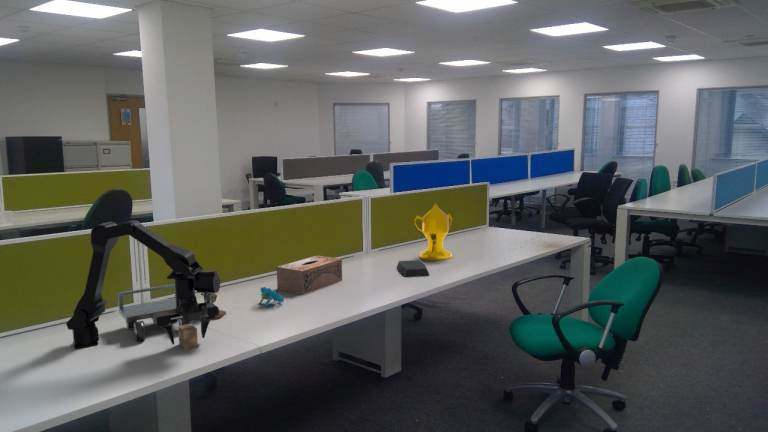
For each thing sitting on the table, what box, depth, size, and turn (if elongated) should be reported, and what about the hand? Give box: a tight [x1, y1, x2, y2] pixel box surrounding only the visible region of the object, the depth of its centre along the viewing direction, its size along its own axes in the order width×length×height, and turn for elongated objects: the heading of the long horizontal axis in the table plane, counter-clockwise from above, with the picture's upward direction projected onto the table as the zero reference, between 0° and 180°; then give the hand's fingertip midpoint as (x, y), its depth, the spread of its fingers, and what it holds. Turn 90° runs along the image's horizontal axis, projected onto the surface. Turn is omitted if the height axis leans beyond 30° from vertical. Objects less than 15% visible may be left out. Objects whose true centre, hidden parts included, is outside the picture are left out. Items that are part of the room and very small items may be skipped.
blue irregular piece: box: [259, 286, 285, 307], centre depth 217 cm, size 11×6×10 cm
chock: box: [177, 323, 199, 351], centre depth 175 cm, size 4×6×6 cm, turn 35°
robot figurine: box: [200, 293, 227, 321], centre depth 204 cm, size 11×9×12 cm
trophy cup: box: [413, 203, 453, 261], centre depth 296 cm, size 18×24×28 cm
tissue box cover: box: [276, 255, 343, 295], centre depth 245 cm, size 26×14×10 cm, turn 146°
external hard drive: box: [396, 259, 430, 278], centre depth 267 cm, size 13×19×4 cm
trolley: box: [117, 283, 192, 342], centre depth 190 cm, size 20×20×12 cm
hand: (188, 340), depth 176 cm, fingers open, 9 cm apart
